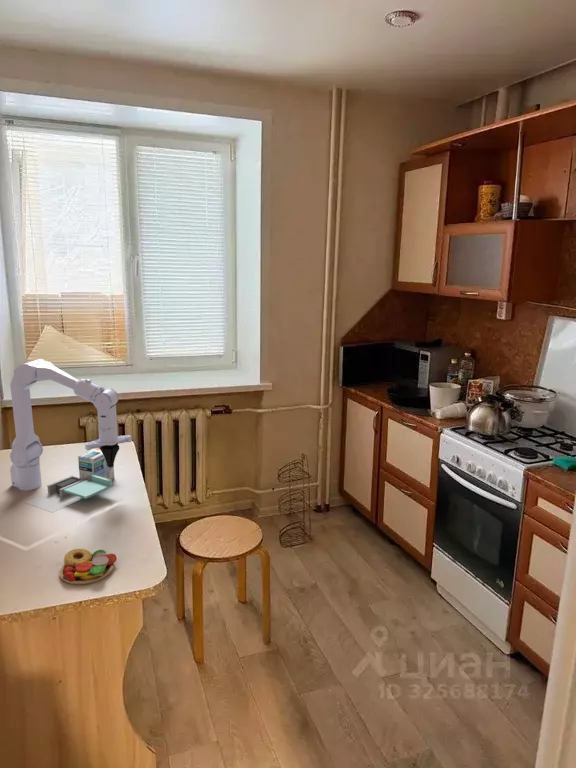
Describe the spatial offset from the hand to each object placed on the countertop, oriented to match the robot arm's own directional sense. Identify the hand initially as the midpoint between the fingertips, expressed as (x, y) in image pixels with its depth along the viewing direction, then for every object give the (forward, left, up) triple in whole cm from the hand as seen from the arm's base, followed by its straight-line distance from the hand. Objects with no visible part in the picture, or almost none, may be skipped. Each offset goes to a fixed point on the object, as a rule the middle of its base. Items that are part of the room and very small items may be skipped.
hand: (110, 466), depth 177 cm
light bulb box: (-12, +4, -10) cm, 16 cm away
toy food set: (+30, -35, -10) cm, 47 cm away
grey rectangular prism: (-12, -8, -9) cm, 17 cm away
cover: (-2, -8, -5) cm, 10 cm away
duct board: (-10, -11, -10) cm, 18 cm away
